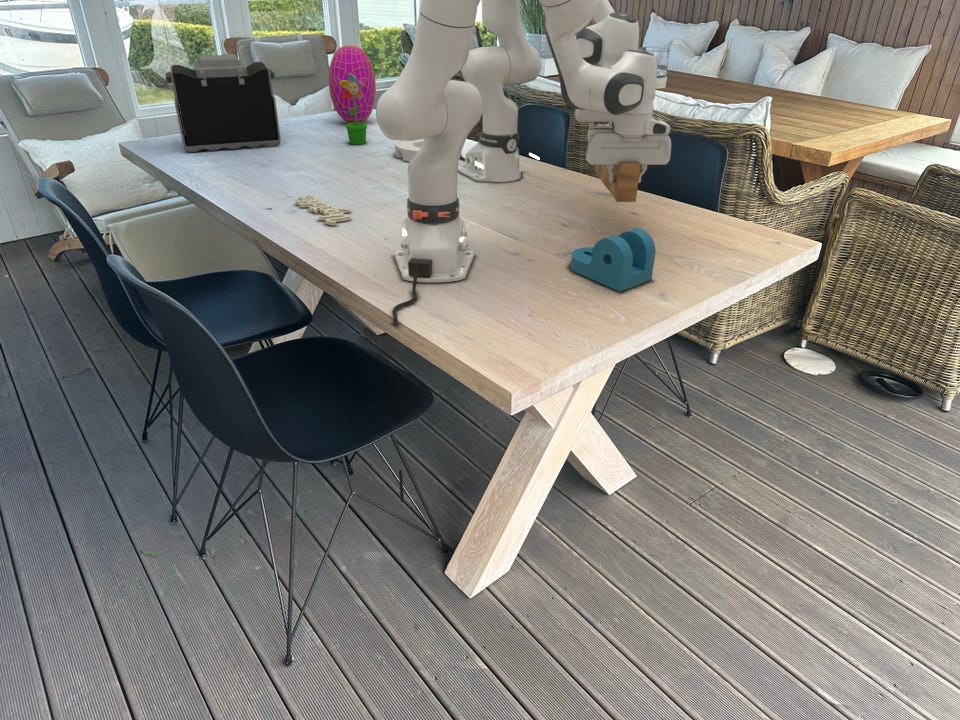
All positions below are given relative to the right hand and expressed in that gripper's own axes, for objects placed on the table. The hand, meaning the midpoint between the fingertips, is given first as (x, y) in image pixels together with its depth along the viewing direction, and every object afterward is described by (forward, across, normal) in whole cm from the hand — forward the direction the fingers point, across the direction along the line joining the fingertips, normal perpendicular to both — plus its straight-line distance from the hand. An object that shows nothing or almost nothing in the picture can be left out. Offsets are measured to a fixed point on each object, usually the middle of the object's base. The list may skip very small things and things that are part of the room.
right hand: (611, 138), depth 184 cm
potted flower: (+19, +77, -84) cm, 116 cm away
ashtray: (+20, +51, -65) cm, 85 cm away
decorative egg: (+19, +82, -120) cm, 147 cm away
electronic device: (+19, +125, -83) cm, 151 cm away
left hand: (+6, 0, +19) cm, 20 cm away
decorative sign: (+20, +79, -3) cm, 81 cm away
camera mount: (+21, +9, +43) cm, 48 cm away
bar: (+10, 0, +9) cm, 14 cm away
